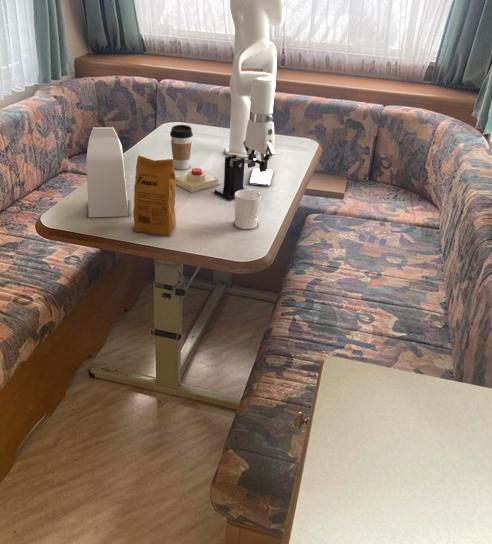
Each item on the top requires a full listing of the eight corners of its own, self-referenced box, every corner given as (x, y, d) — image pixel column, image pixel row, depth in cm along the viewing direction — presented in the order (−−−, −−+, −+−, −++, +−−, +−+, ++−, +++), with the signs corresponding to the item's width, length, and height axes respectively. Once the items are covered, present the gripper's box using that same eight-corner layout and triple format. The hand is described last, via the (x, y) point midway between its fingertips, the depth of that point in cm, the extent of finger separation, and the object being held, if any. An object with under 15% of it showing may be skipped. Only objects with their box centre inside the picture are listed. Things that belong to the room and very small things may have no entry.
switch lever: (251, 162, 200) (253, 155, 199) (261, 166, 197) (262, 159, 196) (226, 164, 193) (227, 157, 192) (235, 168, 190) (236, 161, 189)
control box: (200, 176, 210) (201, 165, 208) (218, 184, 204) (218, 174, 202) (174, 183, 203) (174, 172, 201) (191, 192, 197) (191, 181, 195)
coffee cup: (193, 163, 221) (194, 125, 214) (190, 171, 214) (191, 131, 207) (172, 162, 222) (172, 123, 214) (168, 170, 215) (168, 130, 207)
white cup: (231, 219, 179) (233, 189, 174) (256, 219, 180) (259, 189, 175) (234, 230, 172) (236, 199, 167) (260, 230, 173) (263, 199, 168)
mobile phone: (248, 181, 204) (253, 167, 217) (248, 184, 205) (253, 170, 217) (269, 183, 203) (273, 169, 216) (269, 186, 204) (273, 171, 217)
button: (197, 171, 204) (197, 167, 203) (203, 174, 202) (203, 170, 201) (189, 173, 202) (189, 169, 201) (195, 177, 200) (195, 172, 199)
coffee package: (141, 218, 177) (139, 149, 166) (180, 224, 175) (180, 154, 164) (129, 232, 169) (125, 160, 158) (169, 238, 166) (168, 165, 155)
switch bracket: (236, 186, 203) (238, 151, 196) (251, 194, 197) (254, 158, 191) (214, 193, 197) (215, 157, 191) (229, 200, 192) (231, 163, 185)
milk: (88, 217, 177) (81, 134, 164) (90, 202, 186) (83, 122, 173) (128, 216, 178) (124, 133, 165) (127, 201, 188) (123, 122, 175)
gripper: (287, 121, 187) (282, 174, 197) (251, 109, 199) (248, 160, 208) (270, 124, 183) (266, 178, 192) (235, 112, 194) (232, 164, 203)
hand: (257, 168), depth 200 cm, fingers closed on switch lever, 5 cm apart
